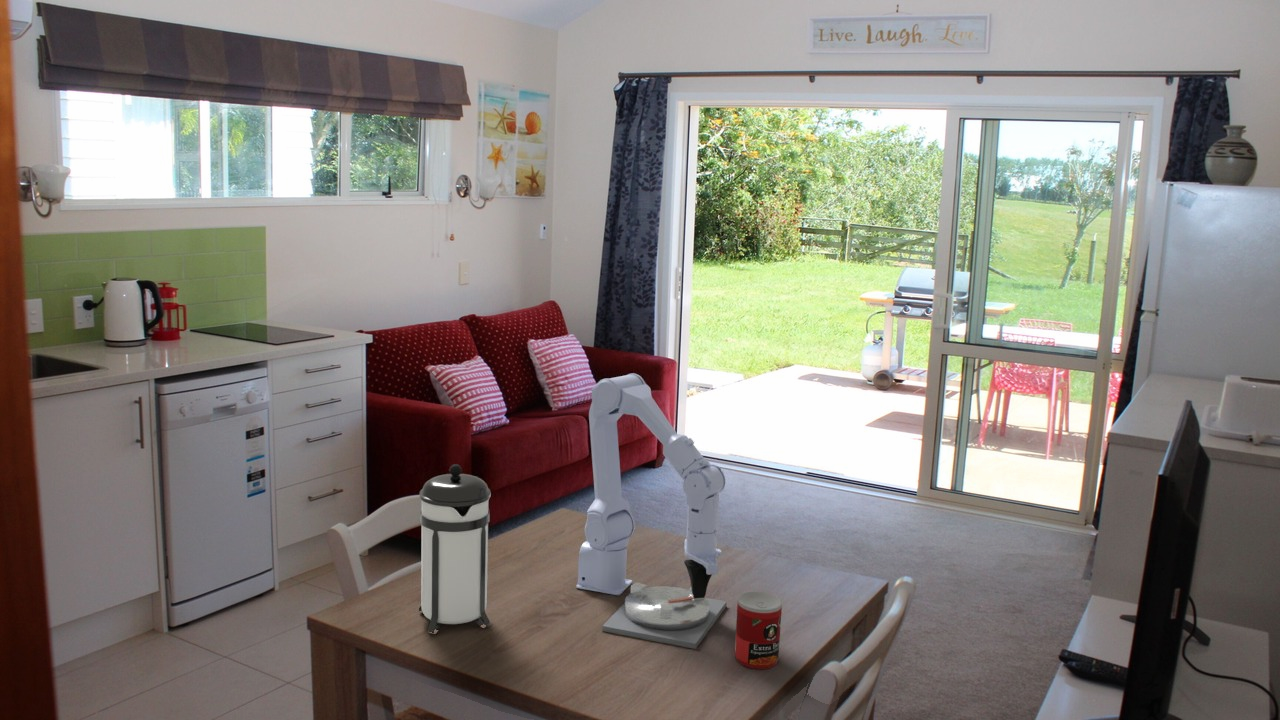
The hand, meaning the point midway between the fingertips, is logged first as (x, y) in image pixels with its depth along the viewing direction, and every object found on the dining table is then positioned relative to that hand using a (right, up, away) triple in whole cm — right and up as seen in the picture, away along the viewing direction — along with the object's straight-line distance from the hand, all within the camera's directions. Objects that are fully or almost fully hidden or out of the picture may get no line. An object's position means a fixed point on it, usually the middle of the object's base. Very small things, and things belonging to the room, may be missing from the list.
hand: (698, 597), depth 197 cm
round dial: (-6, -3, -1) cm, 7 cm away
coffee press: (-47, -3, -4) cm, 47 cm away
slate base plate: (-6, -4, -1) cm, 7 cm away
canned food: (+9, -7, -17) cm, 20 cm away
